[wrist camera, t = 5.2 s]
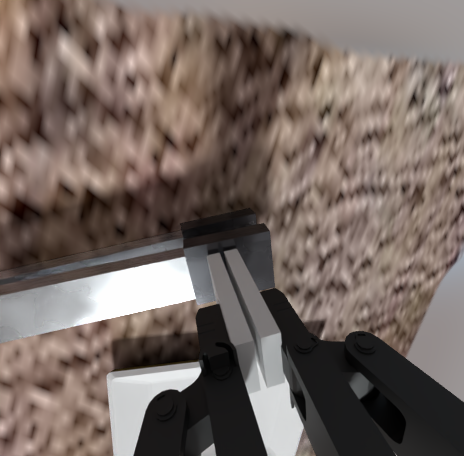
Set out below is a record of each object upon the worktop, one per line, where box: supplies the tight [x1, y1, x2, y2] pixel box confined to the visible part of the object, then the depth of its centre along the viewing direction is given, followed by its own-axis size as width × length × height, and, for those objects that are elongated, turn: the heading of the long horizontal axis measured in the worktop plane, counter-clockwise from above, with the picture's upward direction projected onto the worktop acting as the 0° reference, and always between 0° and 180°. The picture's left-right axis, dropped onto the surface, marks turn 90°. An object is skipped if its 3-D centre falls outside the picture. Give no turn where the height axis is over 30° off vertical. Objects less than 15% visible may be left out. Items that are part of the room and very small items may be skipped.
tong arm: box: [0, 223, 275, 343], centre depth 16 cm, size 26×4×1 cm, turn 98°
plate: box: [106, 360, 304, 456], centre depth 26 cm, size 19×19×2 cm
